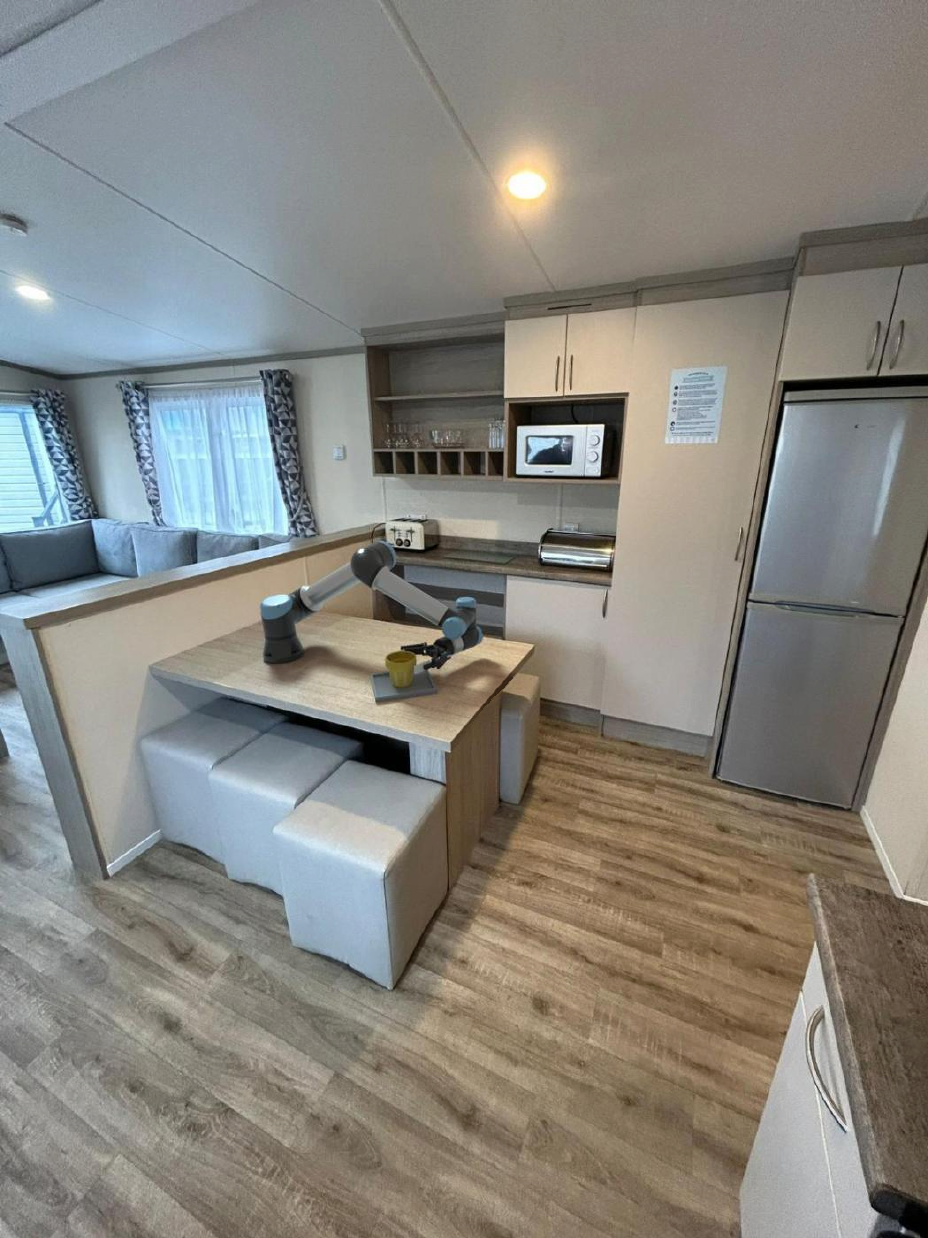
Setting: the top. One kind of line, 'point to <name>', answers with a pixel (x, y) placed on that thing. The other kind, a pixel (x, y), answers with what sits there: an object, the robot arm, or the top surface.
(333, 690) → the top surface
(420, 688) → the charcoal tray
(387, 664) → the plant pot
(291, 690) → the top surface
